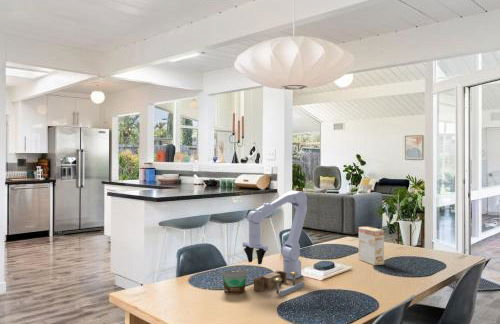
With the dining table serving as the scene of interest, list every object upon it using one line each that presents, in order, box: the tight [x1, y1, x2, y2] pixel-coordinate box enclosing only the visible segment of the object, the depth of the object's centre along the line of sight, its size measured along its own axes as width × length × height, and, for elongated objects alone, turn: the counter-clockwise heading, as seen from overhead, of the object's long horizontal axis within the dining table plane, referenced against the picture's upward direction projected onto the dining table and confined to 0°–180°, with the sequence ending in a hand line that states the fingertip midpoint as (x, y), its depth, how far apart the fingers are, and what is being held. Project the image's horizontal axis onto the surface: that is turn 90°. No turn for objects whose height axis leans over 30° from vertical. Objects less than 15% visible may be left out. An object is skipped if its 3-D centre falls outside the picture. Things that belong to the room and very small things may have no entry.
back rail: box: [279, 281, 305, 297], centre depth 197 cm, size 18×1×2 cm, turn 140°
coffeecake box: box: [358, 225, 385, 266], centre depth 248 cm, size 15×7×20 cm, turn 22°
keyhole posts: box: [273, 272, 298, 294], centre depth 199 cm, size 17×4×6 cm, turn 140°
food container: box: [220, 269, 248, 295], centre depth 195 cm, size 12×6×10 cm, turn 105°
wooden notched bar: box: [253, 269, 287, 293], centre depth 205 cm, size 19×5×5 cm, turn 140°
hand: (255, 263), depth 211 cm, fingers open, 5 cm apart
